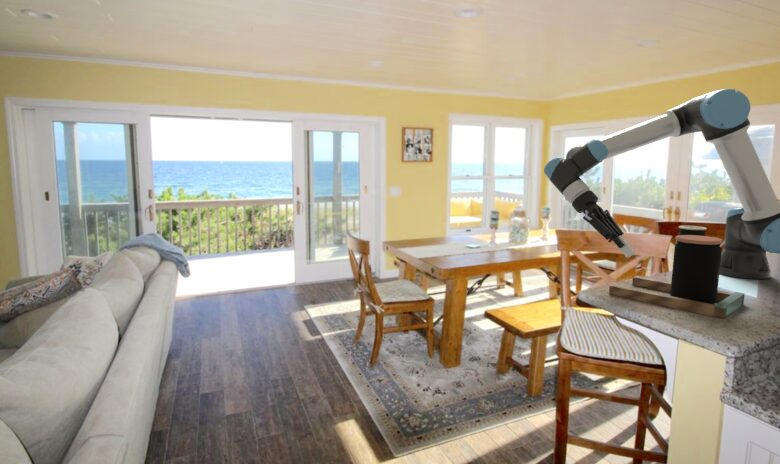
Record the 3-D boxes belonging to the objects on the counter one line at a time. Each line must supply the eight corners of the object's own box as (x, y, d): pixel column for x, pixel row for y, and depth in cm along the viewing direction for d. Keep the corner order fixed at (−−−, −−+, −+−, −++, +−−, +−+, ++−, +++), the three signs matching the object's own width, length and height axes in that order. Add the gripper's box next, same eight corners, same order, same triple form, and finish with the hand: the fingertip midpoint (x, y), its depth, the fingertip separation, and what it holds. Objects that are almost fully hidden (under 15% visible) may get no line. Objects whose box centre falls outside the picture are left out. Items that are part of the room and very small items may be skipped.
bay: (609, 294, 132) (609, 284, 132) (634, 283, 144) (635, 274, 143) (723, 318, 111) (724, 306, 110) (743, 304, 122) (744, 293, 122)
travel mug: (680, 277, 151) (685, 224, 149) (706, 283, 145) (712, 227, 142) (667, 280, 147) (672, 226, 145) (694, 286, 141) (700, 229, 138)
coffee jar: (725, 308, 119) (732, 241, 116) (682, 307, 120) (689, 240, 117) (701, 296, 129) (707, 235, 127) (662, 296, 130) (667, 234, 128)
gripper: (582, 203, 152) (631, 259, 141) (562, 206, 143) (612, 265, 133) (598, 188, 147) (650, 244, 137) (578, 190, 139) (632, 250, 128)
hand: (631, 255), depth 135 cm, fingers closed
